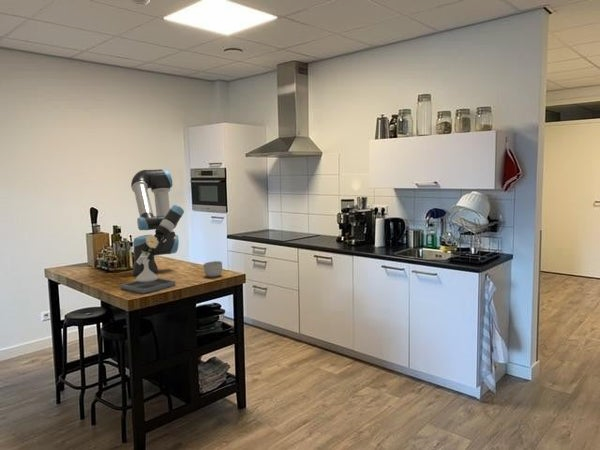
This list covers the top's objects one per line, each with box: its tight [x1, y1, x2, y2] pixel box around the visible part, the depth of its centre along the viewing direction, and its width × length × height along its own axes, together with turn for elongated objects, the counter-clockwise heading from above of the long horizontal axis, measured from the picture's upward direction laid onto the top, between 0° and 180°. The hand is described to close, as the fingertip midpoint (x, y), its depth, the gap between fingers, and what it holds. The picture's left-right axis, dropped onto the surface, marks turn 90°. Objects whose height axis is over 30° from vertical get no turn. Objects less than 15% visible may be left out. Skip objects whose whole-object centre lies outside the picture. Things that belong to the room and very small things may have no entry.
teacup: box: [203, 260, 223, 278], centre depth 274 cm, size 14×11×8 cm
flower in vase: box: [135, 234, 159, 282], centre depth 247 cm, size 13×11×25 cm
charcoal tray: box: [120, 277, 176, 295], centre depth 249 cm, size 20×20×2 cm
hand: (141, 263), depth 244 cm, fingers closed on flower in vase, 4 cm apart
